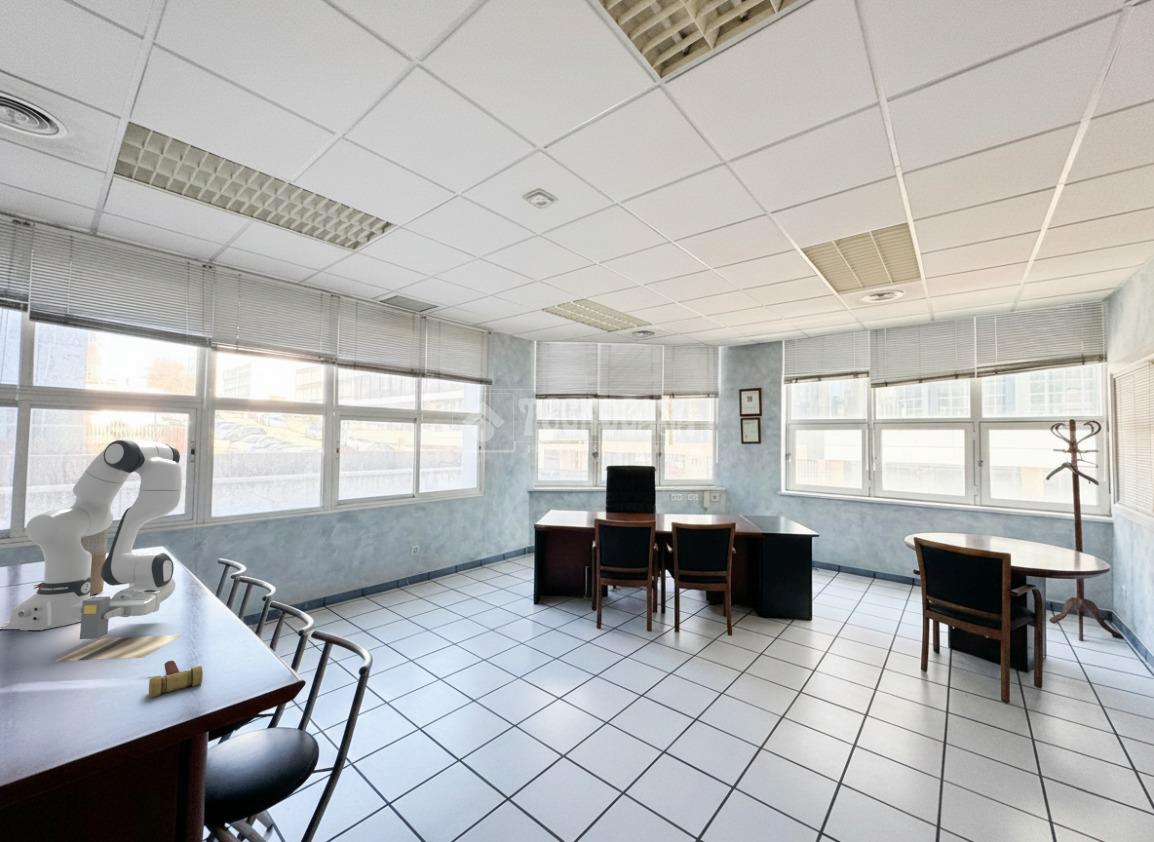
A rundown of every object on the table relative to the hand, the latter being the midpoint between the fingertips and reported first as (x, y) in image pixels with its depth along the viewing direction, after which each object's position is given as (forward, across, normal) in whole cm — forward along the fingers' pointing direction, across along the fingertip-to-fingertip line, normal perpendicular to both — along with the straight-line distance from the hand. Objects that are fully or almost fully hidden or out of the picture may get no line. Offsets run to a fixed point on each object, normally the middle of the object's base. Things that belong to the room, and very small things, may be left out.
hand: (92, 616), depth 137 cm
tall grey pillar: (-1, 0, +6) cm, 6 cm away
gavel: (+18, +32, +12) cm, 39 cm away
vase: (-63, -49, +11) cm, 81 cm away
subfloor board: (-1, +8, +11) cm, 13 cm away
